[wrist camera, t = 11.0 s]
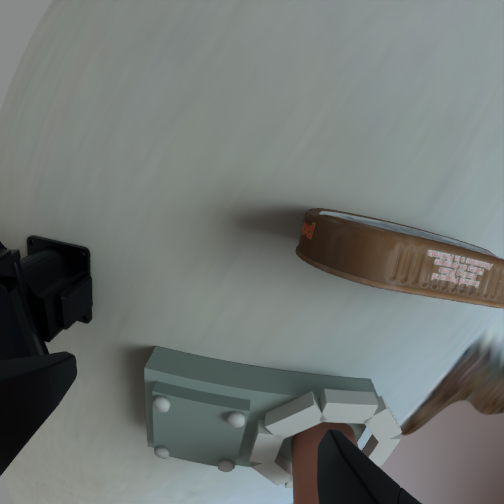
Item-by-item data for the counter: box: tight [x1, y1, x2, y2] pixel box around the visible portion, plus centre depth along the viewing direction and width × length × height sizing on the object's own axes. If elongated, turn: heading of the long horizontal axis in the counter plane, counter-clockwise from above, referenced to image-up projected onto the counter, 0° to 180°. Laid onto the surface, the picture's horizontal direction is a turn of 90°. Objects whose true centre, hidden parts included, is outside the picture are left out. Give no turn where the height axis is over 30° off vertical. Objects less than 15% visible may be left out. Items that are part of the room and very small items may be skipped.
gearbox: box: [144, 346, 402, 488], centre depth 23 cm, size 21×12×5 cm, turn 80°
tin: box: [296, 208, 504, 308], centre depth 17 cm, size 15×3×8 cm, turn 80°
